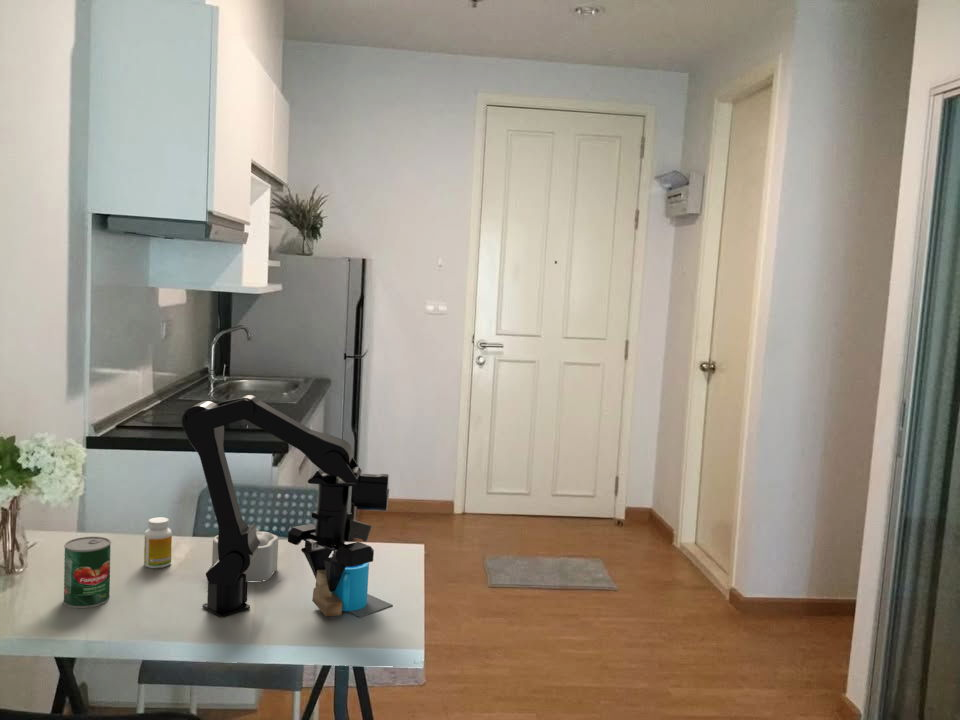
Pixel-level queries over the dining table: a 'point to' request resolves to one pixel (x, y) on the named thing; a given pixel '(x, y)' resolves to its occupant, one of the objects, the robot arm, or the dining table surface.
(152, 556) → the supplement bottle
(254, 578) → the lumpy-topped squat cylinder
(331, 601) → the wooden t-shaped block
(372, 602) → the charcoal mat
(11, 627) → the dining table surface
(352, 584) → the mug
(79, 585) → the canned tomato
